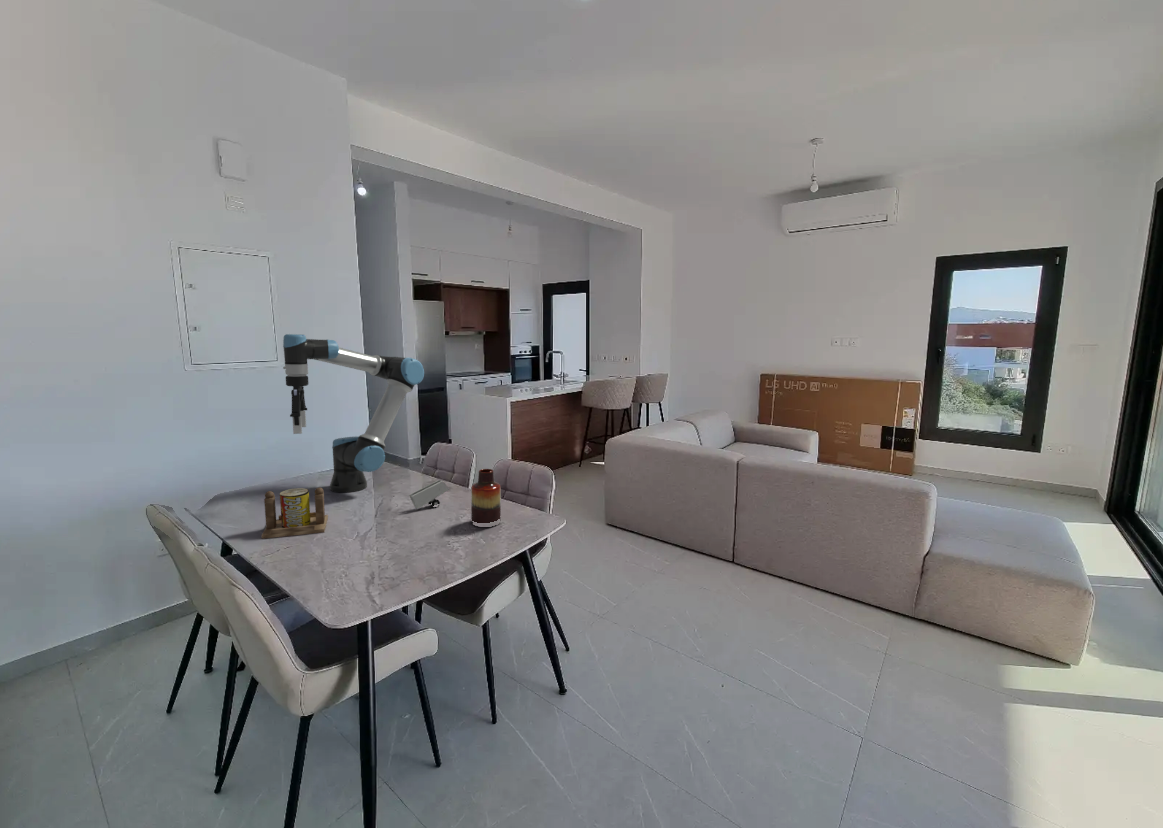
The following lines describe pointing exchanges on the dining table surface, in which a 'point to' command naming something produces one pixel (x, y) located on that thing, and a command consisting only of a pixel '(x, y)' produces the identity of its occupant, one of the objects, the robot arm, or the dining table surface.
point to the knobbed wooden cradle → (276, 530)
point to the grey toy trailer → (428, 494)
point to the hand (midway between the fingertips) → (300, 430)
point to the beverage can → (295, 507)
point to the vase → (485, 498)
